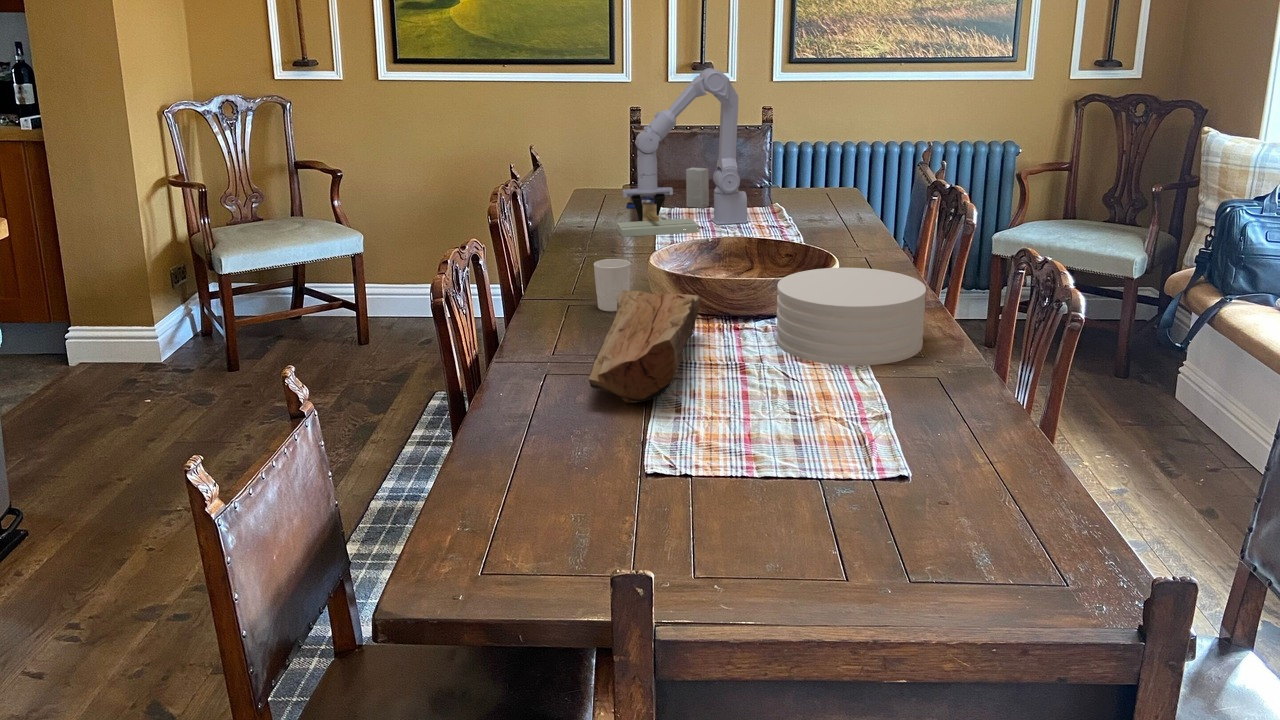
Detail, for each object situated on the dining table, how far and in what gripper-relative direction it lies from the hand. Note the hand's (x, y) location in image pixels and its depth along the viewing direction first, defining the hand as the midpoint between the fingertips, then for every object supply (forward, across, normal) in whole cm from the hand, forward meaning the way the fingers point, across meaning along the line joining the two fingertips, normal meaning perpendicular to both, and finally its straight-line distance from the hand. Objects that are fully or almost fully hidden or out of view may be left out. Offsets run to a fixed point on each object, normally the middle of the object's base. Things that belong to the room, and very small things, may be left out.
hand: (648, 220), depth 315 cm
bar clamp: (+2, -2, -20) cm, 20 cm away
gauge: (+2, 0, +4) cm, 5 cm away
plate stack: (+2, -18, +116) cm, 117 cm away
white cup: (+2, +23, +81) cm, 84 cm away
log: (+2, +23, +122) cm, 124 cm away
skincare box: (+2, -20, -24) cm, 31 cm away
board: (+2, -1, +7) cm, 8 cm away
